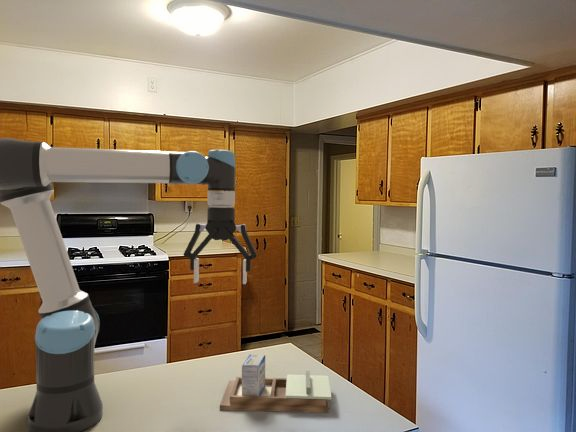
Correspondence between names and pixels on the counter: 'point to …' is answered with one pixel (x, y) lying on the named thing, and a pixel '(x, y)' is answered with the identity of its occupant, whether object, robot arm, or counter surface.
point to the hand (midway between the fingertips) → (220, 282)
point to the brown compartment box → (269, 398)
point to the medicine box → (253, 375)
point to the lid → (308, 386)
